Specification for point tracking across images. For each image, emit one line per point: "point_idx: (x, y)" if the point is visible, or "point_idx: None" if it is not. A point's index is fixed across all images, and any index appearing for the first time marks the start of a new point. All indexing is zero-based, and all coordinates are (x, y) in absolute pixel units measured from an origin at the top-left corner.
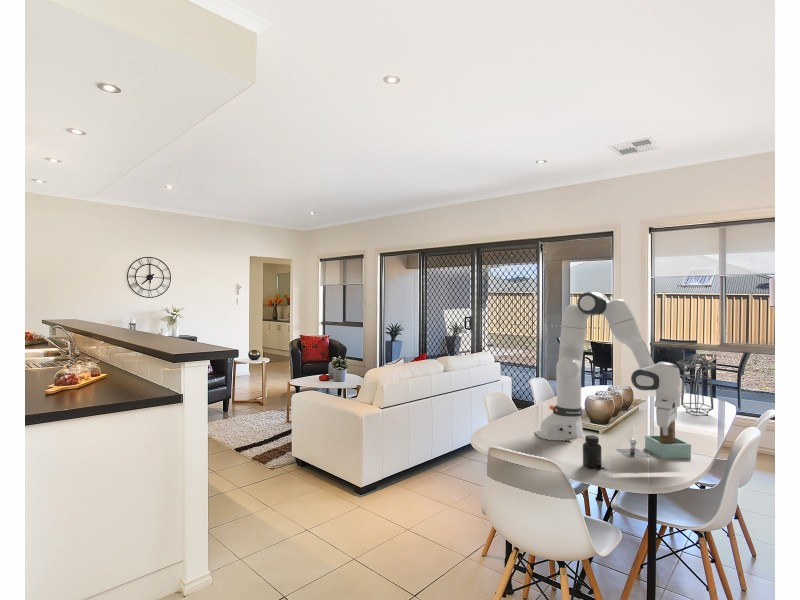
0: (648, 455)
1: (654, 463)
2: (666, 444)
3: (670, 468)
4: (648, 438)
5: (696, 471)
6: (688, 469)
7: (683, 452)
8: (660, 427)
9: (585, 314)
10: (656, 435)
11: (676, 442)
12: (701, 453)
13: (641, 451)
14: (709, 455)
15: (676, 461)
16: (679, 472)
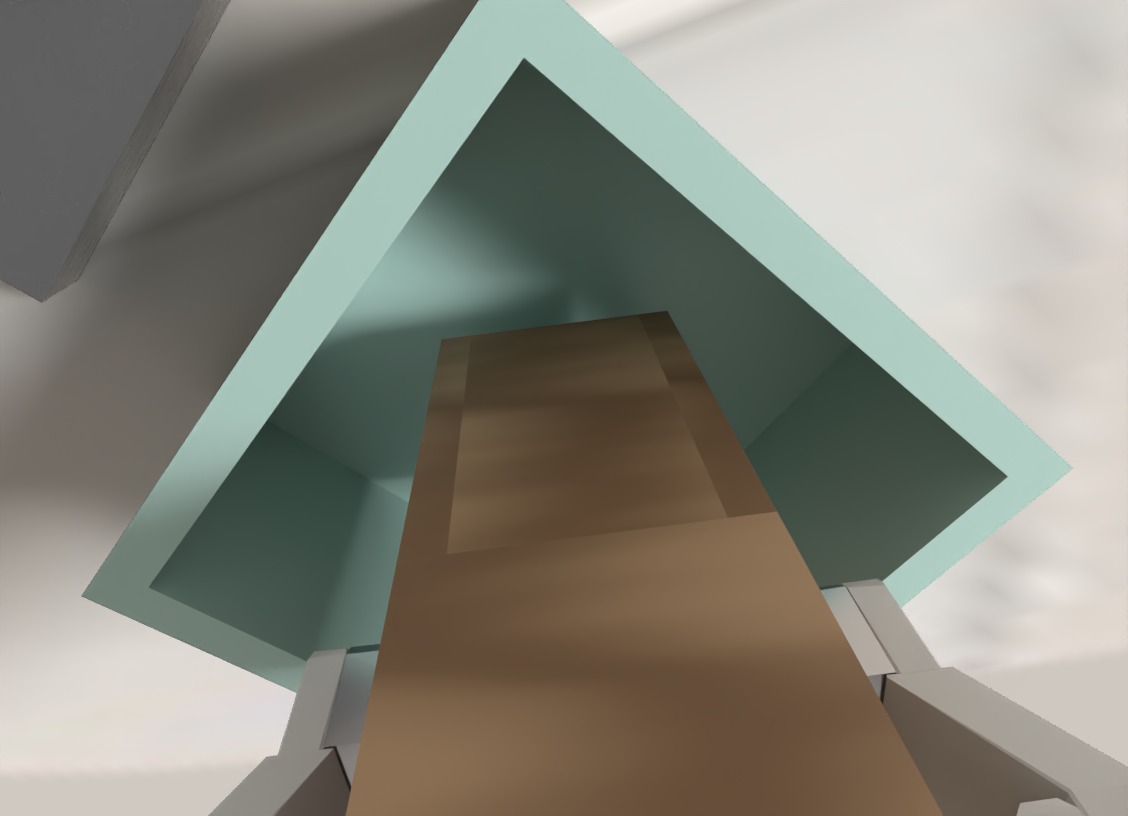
0: (80, 227)
1: (9, 356)
2: (175, 637)
3: (48, 560)
4: (399, 121)
5: (262, 740)
6: (244, 681)
7: None
8: (372, 719)
9: None
10: (795, 224)
11: (818, 546)
12: (1043, 593)
13: (187, 15)
14: (1010, 662)
15: None
16: (23, 660)
